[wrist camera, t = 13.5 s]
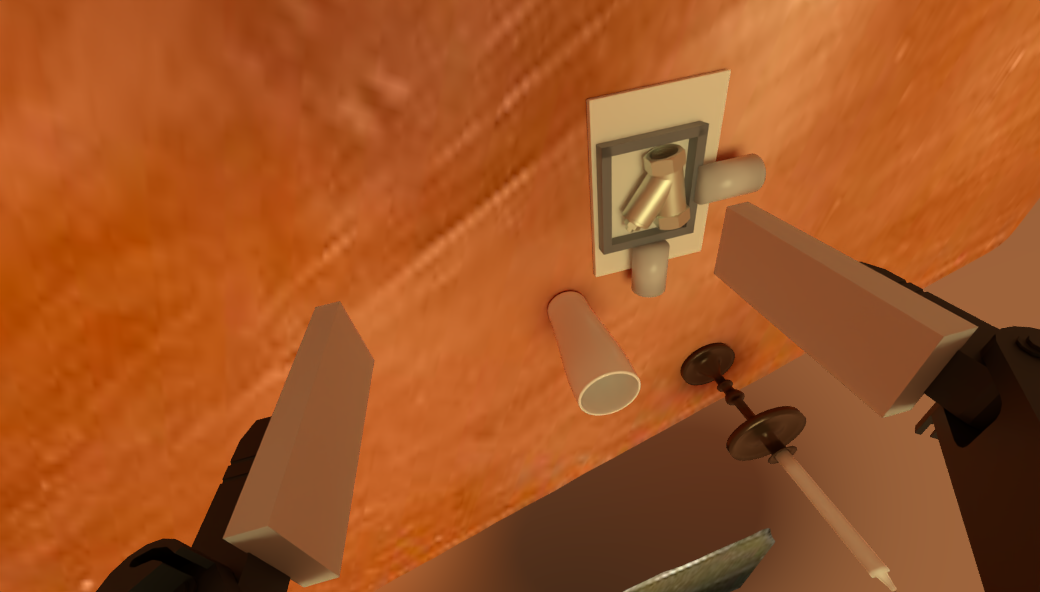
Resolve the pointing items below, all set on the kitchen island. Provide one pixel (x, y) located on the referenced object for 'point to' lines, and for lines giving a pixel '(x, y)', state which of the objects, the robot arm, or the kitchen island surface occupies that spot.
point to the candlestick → (776, 447)
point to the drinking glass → (591, 357)
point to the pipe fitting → (660, 192)
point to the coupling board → (620, 171)
